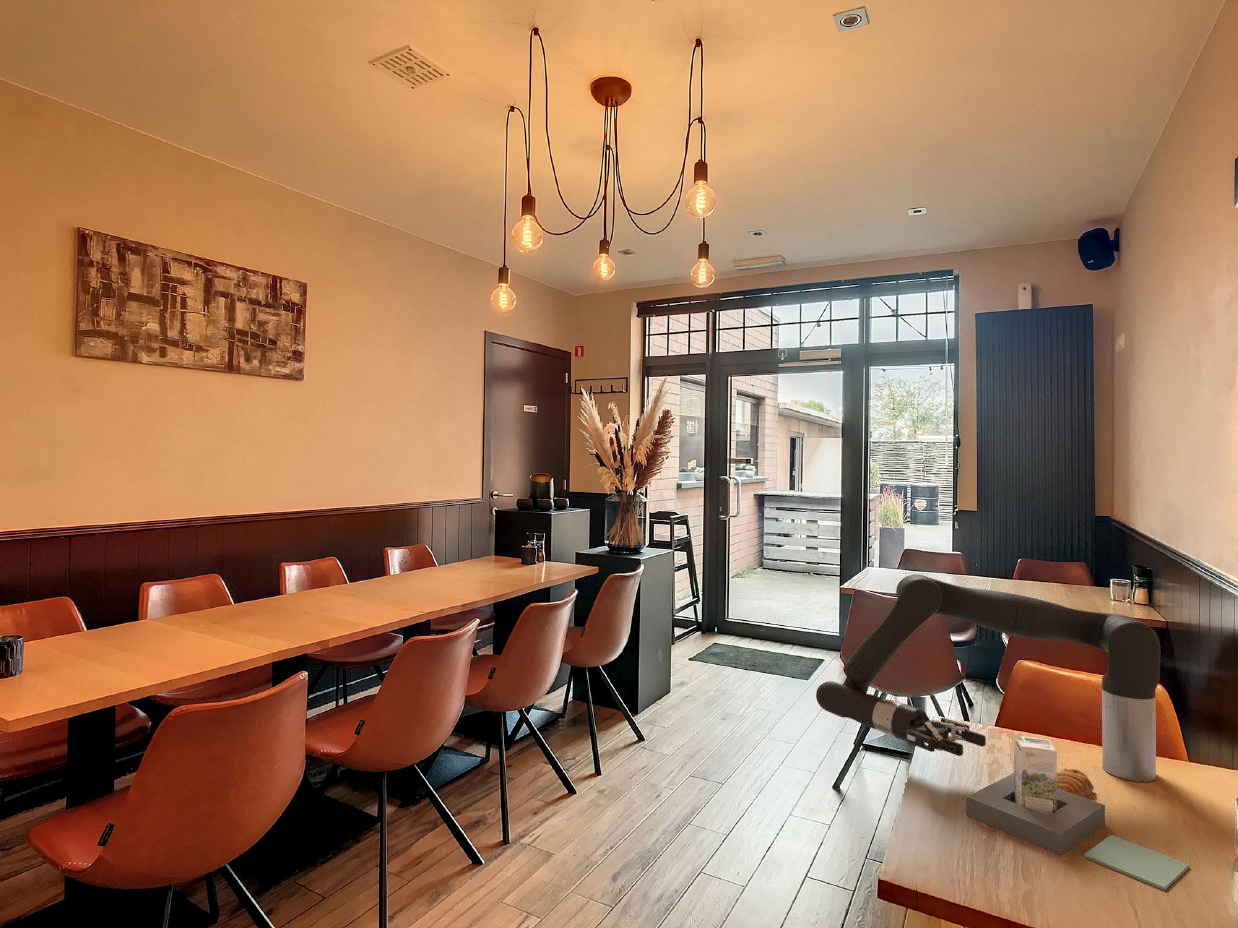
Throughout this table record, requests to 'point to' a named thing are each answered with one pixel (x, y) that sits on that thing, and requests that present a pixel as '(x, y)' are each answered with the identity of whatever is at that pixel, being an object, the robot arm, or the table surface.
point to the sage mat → (1137, 862)
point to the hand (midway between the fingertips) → (973, 745)
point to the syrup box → (1035, 774)
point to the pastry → (1074, 782)
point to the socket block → (1037, 816)
